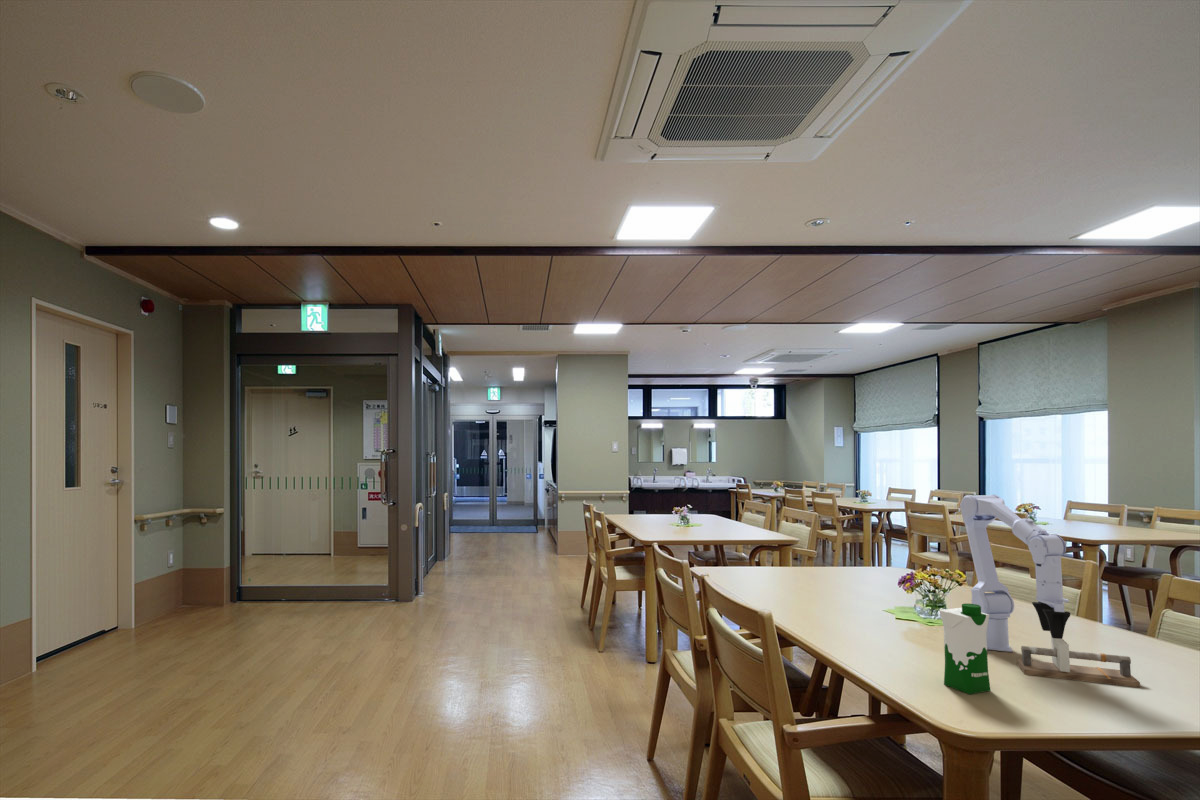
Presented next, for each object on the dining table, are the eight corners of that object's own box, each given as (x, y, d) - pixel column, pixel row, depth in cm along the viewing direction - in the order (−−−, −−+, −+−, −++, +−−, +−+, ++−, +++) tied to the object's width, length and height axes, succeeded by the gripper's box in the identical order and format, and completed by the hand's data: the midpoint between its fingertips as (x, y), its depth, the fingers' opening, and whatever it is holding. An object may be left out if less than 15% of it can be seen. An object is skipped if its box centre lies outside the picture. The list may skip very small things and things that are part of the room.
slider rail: (1024, 674, 167) (1023, 650, 167) (1016, 663, 175) (1015, 640, 175) (1140, 687, 157) (1138, 662, 158) (1126, 675, 166) (1125, 651, 166)
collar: (1060, 671, 164) (1059, 643, 165) (1052, 661, 172) (1051, 635, 172) (1070, 672, 163) (1068, 644, 164) (1061, 662, 171) (1060, 636, 171)
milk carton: (970, 696, 151) (966, 609, 153) (937, 683, 160) (934, 600, 161) (996, 691, 155) (993, 606, 156) (963, 679, 163) (960, 598, 164)
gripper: (1077, 587, 162) (1080, 643, 161) (1057, 577, 176) (1060, 628, 175) (1044, 585, 165) (1047, 640, 163) (1027, 575, 178) (1030, 626, 177)
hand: (1052, 634), depth 169 cm, fingers open, 7 cm apart
